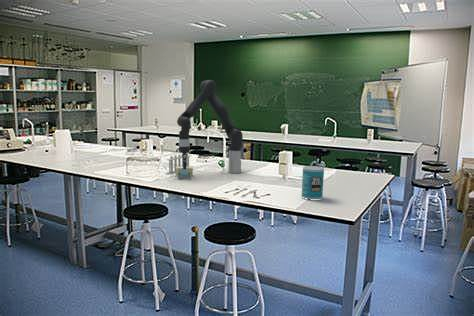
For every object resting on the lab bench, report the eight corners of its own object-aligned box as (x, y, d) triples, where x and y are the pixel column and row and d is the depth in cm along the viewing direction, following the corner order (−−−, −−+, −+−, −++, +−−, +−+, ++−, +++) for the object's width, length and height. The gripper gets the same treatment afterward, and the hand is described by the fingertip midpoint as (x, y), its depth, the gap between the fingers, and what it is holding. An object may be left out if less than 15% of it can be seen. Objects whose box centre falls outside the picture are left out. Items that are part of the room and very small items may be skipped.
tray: (190, 176, 268) (190, 172, 268) (191, 179, 259) (191, 175, 259) (177, 176, 267) (177, 173, 266) (177, 179, 258) (177, 175, 257)
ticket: (192, 174, 274) (192, 166, 272) (192, 176, 269) (192, 167, 268) (175, 174, 272) (175, 166, 271) (175, 176, 267) (175, 168, 266)
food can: (317, 202, 209) (318, 170, 206) (297, 198, 216) (299, 168, 213) (325, 197, 219) (327, 167, 216) (306, 194, 225) (308, 165, 222)
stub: (188, 176, 266) (188, 167, 265) (188, 177, 261) (188, 169, 260) (179, 176, 265) (179, 167, 264) (180, 177, 260) (179, 169, 259)
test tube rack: (170, 174, 273) (170, 157, 271) (166, 173, 275) (165, 156, 273) (191, 169, 294) (191, 152, 292) (187, 168, 296) (187, 152, 294)
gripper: (189, 146, 253) (190, 170, 256) (189, 143, 267) (189, 166, 269) (178, 146, 252) (179, 170, 254) (178, 144, 265) (179, 166, 268)
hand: (184, 168), depth 262 cm, fingers open, 8 cm apart
